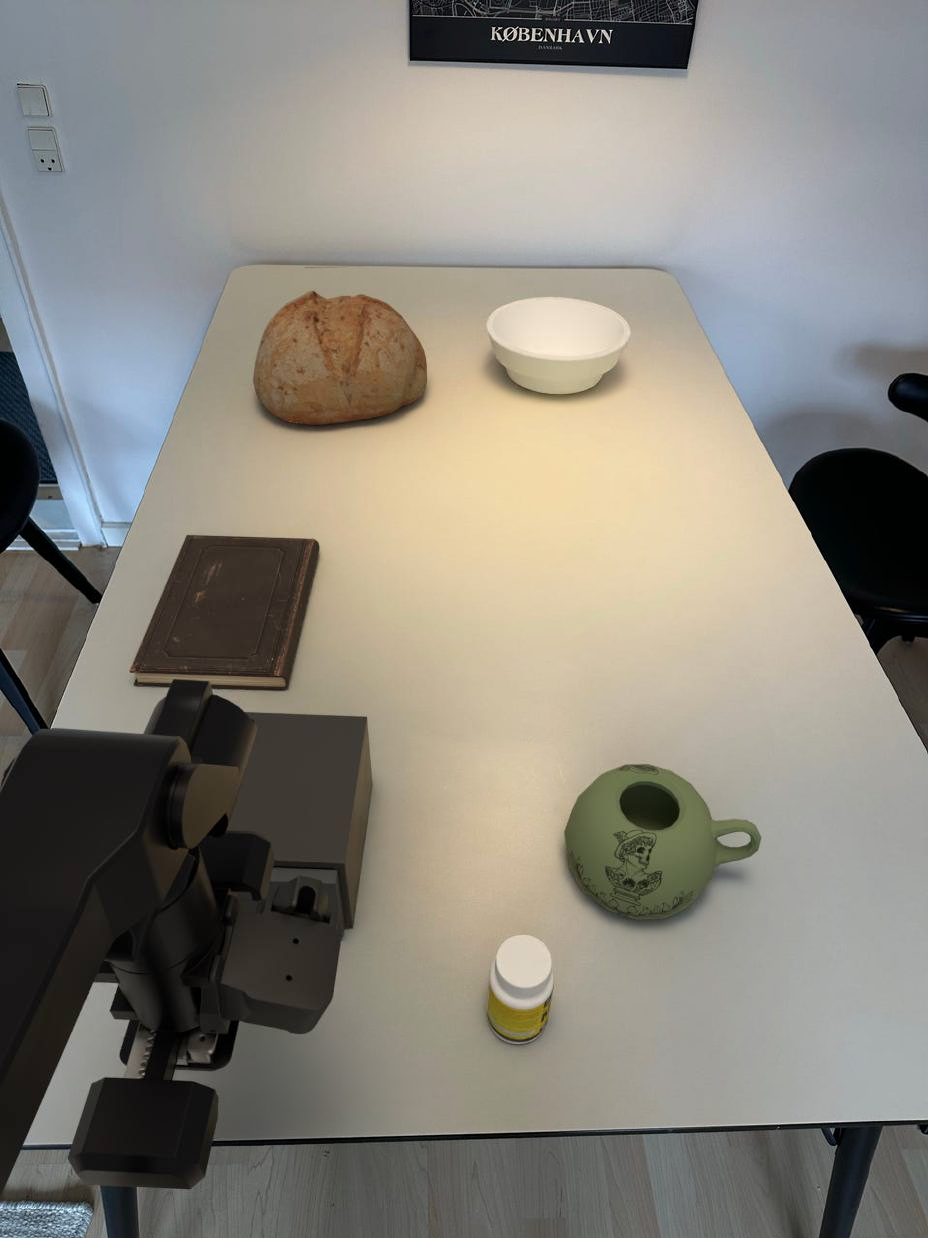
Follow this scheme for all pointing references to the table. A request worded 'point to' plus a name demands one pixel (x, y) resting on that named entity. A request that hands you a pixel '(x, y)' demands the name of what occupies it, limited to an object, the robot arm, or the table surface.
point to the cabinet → (310, 794)
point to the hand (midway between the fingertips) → (211, 1050)
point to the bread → (338, 360)
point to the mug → (647, 842)
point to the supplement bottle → (520, 989)
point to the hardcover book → (229, 613)
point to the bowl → (557, 342)
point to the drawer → (288, 873)
